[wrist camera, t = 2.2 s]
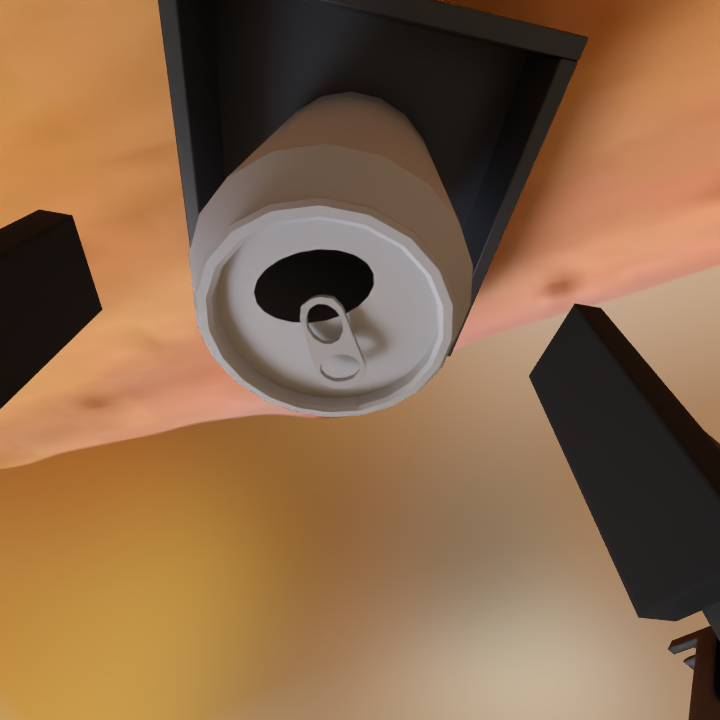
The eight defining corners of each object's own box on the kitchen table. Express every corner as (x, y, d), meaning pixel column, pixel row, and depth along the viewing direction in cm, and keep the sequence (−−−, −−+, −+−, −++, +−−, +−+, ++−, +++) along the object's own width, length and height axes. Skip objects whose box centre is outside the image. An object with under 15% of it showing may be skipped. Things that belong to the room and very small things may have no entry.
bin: (197, -47, 13) (147, -70, 10) (547, 36, 14) (590, 37, 12) (222, 280, 22) (198, 317, 19) (441, 316, 23) (450, 357, 20)
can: (413, 60, 15) (469, 101, 6) (442, 237, 20) (498, 414, 10) (243, 123, 16) (79, 231, 7) (307, 273, 21) (254, 453, 12)
